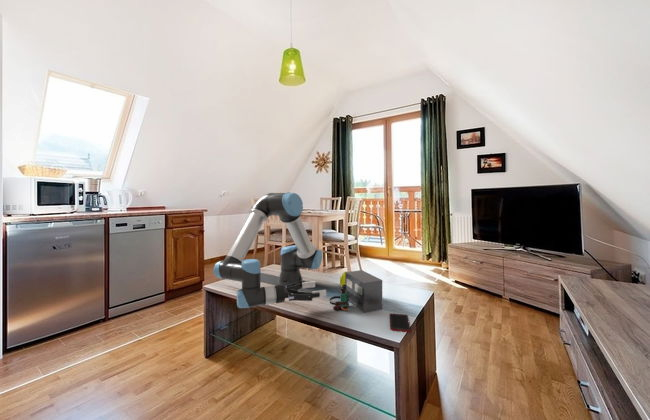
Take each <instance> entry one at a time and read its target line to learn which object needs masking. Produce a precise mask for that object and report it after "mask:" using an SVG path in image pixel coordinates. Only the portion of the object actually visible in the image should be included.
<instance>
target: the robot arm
mask: <svg viewBox="0 0 650 420" xmlns="http://www.w3.org/2000/svg"><path fill="white" fill-rule="evenodd" d="M303 211H304V206H303V199H302V197H301V196H300V195H299V194H297V193H296V192H270V193H266V194H264V195H263V196H261V197H259V199H257V200H256V202H255V203H253V205H252V207H251V208H250V210H249V216H248V218H247V219H246V221H245V223H244V224H243V226H242V228H241V229H240V232H239V233H238V235H237V237H236V238H235V241H234V242H233V243H232V245H231V247H230V249H229V251H228V253H227V254H226V256H225V258H224V260H220V261H218V262H216V263H215V264H214V267H213V271H212V272H213V275H214V276H215V277H216V278H218V279H221V280H227V281H234V282H241V288H239V289H238V290H236V306H237V308H238V309H247V308H248V309H249V308H255V307H259V306H270V305H273V304H275V303H276V304H281V303H284V302H285V301H286V300H285V299H288V301H290V302H292V301H293V302H294V301H299V302H300V301H301V302H302V301H303V302H312V301H313V299H317V298H318V299H319V298H323V297H324V298H325V297H326V296H327V289H321V290H314V291H313V290H312V291H311V292H309V291H301V289H310V288H316V281H315V280H313V281H305V282H304V281H303V276H302V273H301V270H300V269H307V270H318V269H320V267H321V264H322V262H323V261H322V260H323V251H322V250H321V249H317V248H316V245H315V244H314V243H312V242H311V240H310V237H309V235H308V232H307V230H306V228H305V224H304V223H303V221H302V217H301V216H302V212H303ZM271 216H277V217H279V219H280V221H281V222H282V223H284V224H285V226H286V228H287V229H288V232H289V235H290V236H291V239H292V241H293V242H294V245H287V246H284V247H281V249H280V274H279V276H278V280H277V283H278V284H276V285H267V286H261V279H262V278H261V272H262V271H261V262H260V260H259V259H256V258H254V259H253V258H251V259H245V257H246V256H247V254H248V252H249V251H250V248H251V247H252V244H253V243H254V241H255V239H256V237H257V235H258V233H259V231H260V229H261V228H262V226H263V224H264V222H266V221H267V220H268V218H269V217H271Z"/></svg>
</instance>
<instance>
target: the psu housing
mask: <svg viewBox="0 0 650 420" xmlns="http://www.w3.org/2000/svg"><path fill="white" fill-rule="evenodd" d="M344 272H345V271H344ZM345 285H346V289H347V293H348V295H349V296H350V297H348V298H349V302H348V303H351V305H353V306H354V307H356V308H357V309H359V310H360V312H362V313H364V314H366V313H370V312H375V311H380V310H383V280H382V279H381V278H379V277H377V276H375V275H372V274H371V273H368V272H367V271H364V270H363V269H359V270H352V271H347V272H345Z"/></svg>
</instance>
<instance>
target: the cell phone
mask: <svg viewBox="0 0 650 420" xmlns="http://www.w3.org/2000/svg"><path fill="white" fill-rule="evenodd" d="M408 321H409V316H408V314H402V313H389V324H390V327H389V328H390V331H392V332H402V333H411V326H410V321H409V322H408Z"/></svg>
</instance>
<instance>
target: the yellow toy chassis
mask: <svg viewBox="0 0 650 420" xmlns="http://www.w3.org/2000/svg"><path fill="white" fill-rule="evenodd" d="M345 272H348V271H347V270H346V271H344V272H342V275H341V276H340V277H339V286H341V287H342V285H345Z"/></svg>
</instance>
